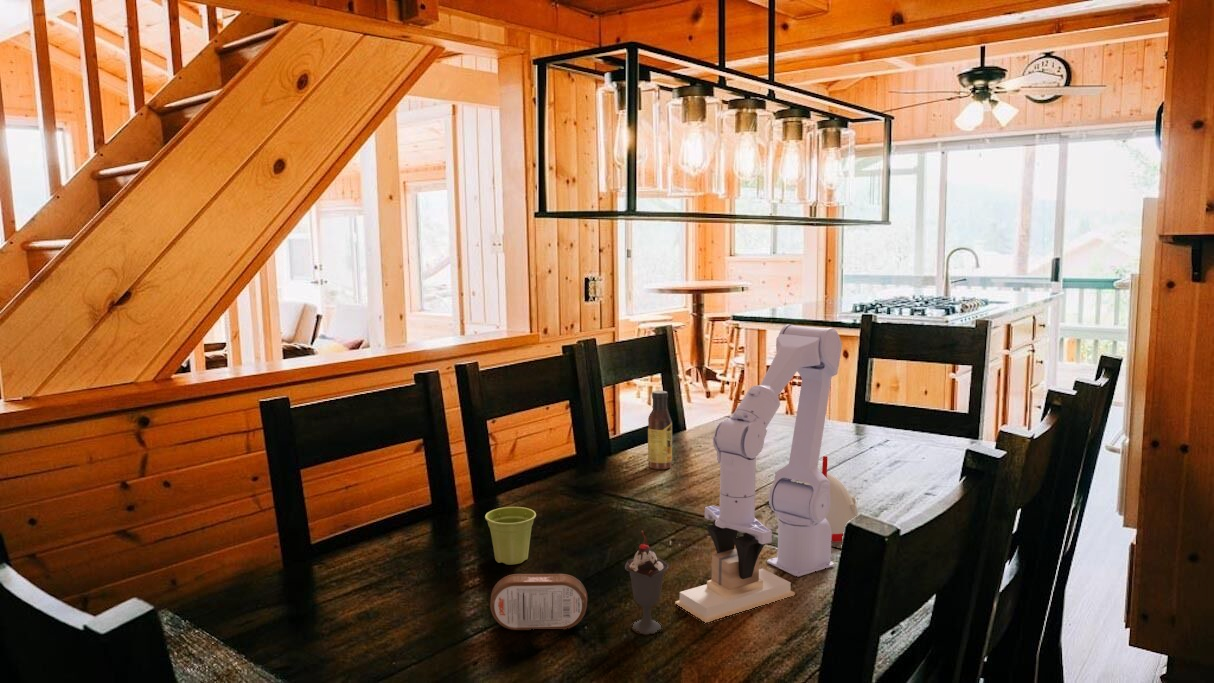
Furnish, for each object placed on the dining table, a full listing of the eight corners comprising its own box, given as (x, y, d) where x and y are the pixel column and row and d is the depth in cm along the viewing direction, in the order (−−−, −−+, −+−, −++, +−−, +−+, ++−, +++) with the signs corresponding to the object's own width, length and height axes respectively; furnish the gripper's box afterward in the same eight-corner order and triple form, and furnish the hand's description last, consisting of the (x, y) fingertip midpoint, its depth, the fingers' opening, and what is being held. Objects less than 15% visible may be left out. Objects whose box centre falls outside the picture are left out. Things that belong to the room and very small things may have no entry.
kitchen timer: (857, 521, 176) (860, 452, 174) (858, 545, 163) (861, 470, 161) (790, 515, 180) (791, 448, 178) (786, 538, 166) (788, 465, 164)
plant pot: (481, 553, 159) (480, 509, 158) (529, 546, 162) (528, 503, 161) (492, 572, 150) (491, 526, 149) (542, 564, 153) (542, 519, 152)
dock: (675, 604, 137) (675, 591, 136) (762, 579, 147) (762, 566, 146) (705, 624, 130) (705, 610, 130) (794, 595, 140) (794, 582, 140)
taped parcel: (743, 577, 142) (744, 545, 141) (762, 587, 138) (763, 554, 137) (706, 587, 138) (707, 555, 137) (725, 598, 134) (726, 565, 133)
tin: (587, 622, 131) (587, 571, 130) (587, 631, 128) (587, 579, 127) (491, 623, 131) (490, 572, 129) (489, 633, 127) (488, 581, 126)
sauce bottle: (672, 470, 213) (673, 394, 210) (648, 470, 213) (648, 394, 211) (671, 463, 220) (671, 389, 217) (647, 463, 220) (647, 389, 217)
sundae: (641, 613, 134) (641, 524, 132) (676, 626, 129) (677, 533, 127) (616, 629, 128) (615, 535, 127) (651, 642, 124) (651, 546, 122)
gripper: (690, 485, 140) (689, 562, 142) (748, 509, 128) (746, 593, 129) (723, 478, 144) (722, 553, 145) (782, 501, 131) (780, 583, 133)
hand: (735, 571), depth 138 cm, fingers open, 4 cm apart
